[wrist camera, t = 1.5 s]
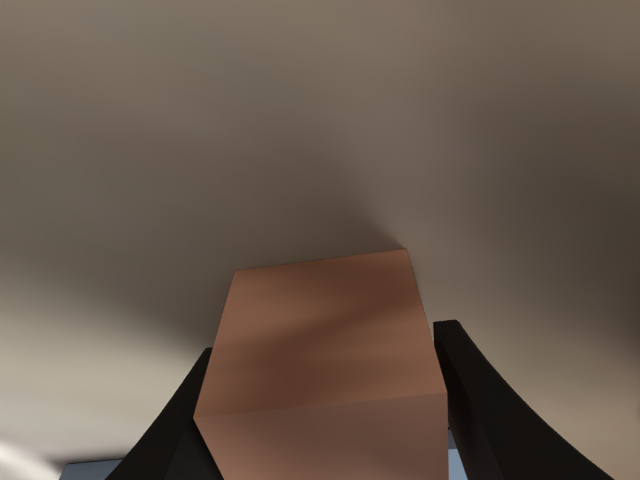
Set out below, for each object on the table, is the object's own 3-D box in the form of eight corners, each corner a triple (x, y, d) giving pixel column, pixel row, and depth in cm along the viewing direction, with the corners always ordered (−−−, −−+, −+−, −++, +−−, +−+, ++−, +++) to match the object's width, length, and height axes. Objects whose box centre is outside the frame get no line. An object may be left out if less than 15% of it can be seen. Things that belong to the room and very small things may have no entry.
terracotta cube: (405, 247, 13) (447, 392, 8) (414, 366, 15) (449, 523, 11) (235, 269, 13) (193, 417, 9) (272, 382, 16) (253, 538, 11)
